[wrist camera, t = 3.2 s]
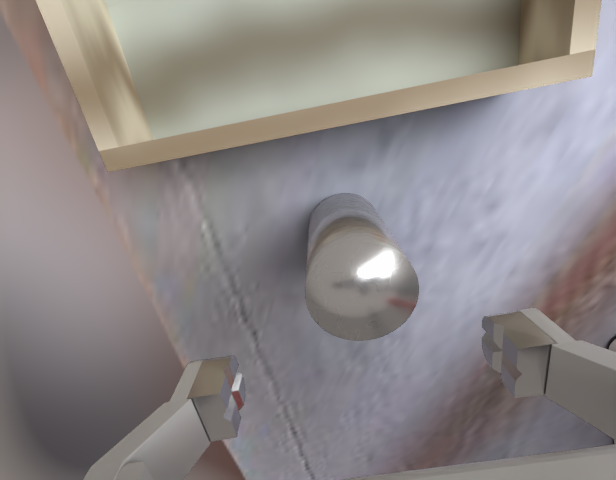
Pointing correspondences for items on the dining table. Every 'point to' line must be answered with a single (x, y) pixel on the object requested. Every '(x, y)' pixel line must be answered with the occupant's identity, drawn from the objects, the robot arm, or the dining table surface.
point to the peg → (356, 271)
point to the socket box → (298, 64)
